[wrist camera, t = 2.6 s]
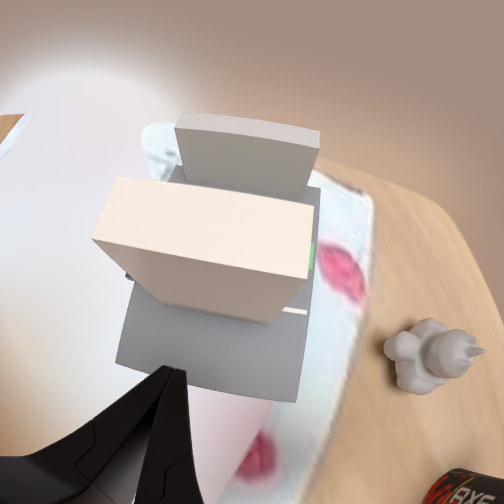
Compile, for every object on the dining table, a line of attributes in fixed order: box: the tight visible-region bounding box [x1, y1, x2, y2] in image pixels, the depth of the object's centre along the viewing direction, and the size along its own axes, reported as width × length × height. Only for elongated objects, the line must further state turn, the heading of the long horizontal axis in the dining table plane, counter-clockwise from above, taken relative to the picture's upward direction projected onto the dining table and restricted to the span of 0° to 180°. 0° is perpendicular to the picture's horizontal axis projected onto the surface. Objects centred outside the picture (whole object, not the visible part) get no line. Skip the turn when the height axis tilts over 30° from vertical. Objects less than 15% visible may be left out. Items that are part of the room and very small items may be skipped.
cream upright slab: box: [91, 177, 314, 325], centre depth 13 cm, size 4×10×10 cm, turn 80°
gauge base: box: [115, 112, 321, 403], centre depth 17 cm, size 16×12×7 cm
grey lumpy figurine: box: [384, 318, 487, 395], centre depth 14 cm, size 5×7×8 cm
